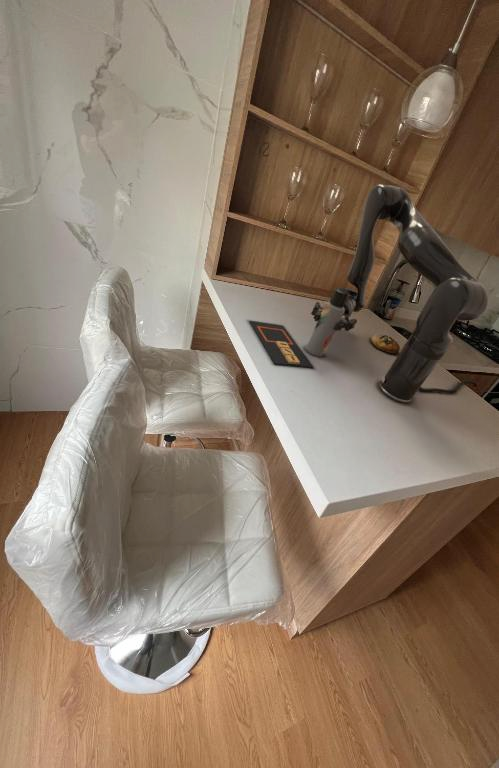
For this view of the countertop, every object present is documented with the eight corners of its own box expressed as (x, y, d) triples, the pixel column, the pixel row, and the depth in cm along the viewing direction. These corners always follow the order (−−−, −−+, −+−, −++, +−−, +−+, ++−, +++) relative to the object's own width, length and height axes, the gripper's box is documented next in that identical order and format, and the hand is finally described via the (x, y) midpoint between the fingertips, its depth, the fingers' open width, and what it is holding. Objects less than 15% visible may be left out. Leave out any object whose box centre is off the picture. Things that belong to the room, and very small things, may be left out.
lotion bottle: (326, 353, 101) (355, 292, 90) (319, 358, 97) (349, 295, 86) (310, 344, 103) (337, 283, 92) (302, 349, 99) (330, 286, 88)
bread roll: (404, 355, 120) (410, 343, 117) (380, 356, 116) (385, 344, 113) (385, 340, 128) (390, 329, 126) (362, 341, 125) (366, 329, 122)
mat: (249, 321, 104) (250, 317, 104) (282, 326, 109) (283, 323, 108) (274, 364, 86) (276, 360, 86) (312, 368, 91) (314, 364, 90)
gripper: (324, 289, 105) (308, 299, 92) (366, 308, 102) (356, 321, 88) (315, 311, 109) (299, 323, 96) (355, 329, 106) (344, 345, 92)
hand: (326, 322), depth 92 cm, fingers closed on lotion bottle, 5 cm apart
